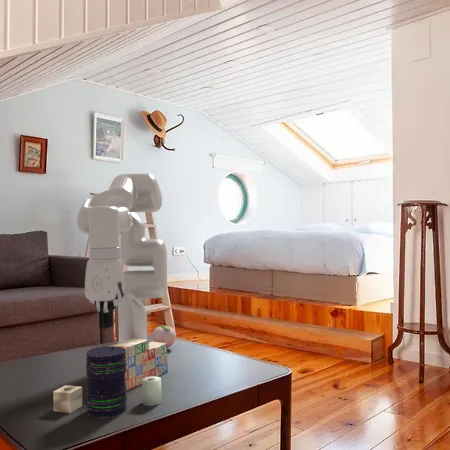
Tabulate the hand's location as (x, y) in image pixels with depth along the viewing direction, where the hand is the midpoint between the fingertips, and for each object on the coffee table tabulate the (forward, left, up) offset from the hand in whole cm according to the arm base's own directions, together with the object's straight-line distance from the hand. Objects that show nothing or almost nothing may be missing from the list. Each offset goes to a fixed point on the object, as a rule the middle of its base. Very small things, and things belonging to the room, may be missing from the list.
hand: (106, 327), depth 118 cm
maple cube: (-10, -4, -21) cm, 24 cm away
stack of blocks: (-10, +21, -21) cm, 32 cm away
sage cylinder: (+6, +10, -21) cm, 24 cm away
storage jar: (0, 0, -21) cm, 21 cm away
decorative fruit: (-27, +54, -21) cm, 64 cm away
